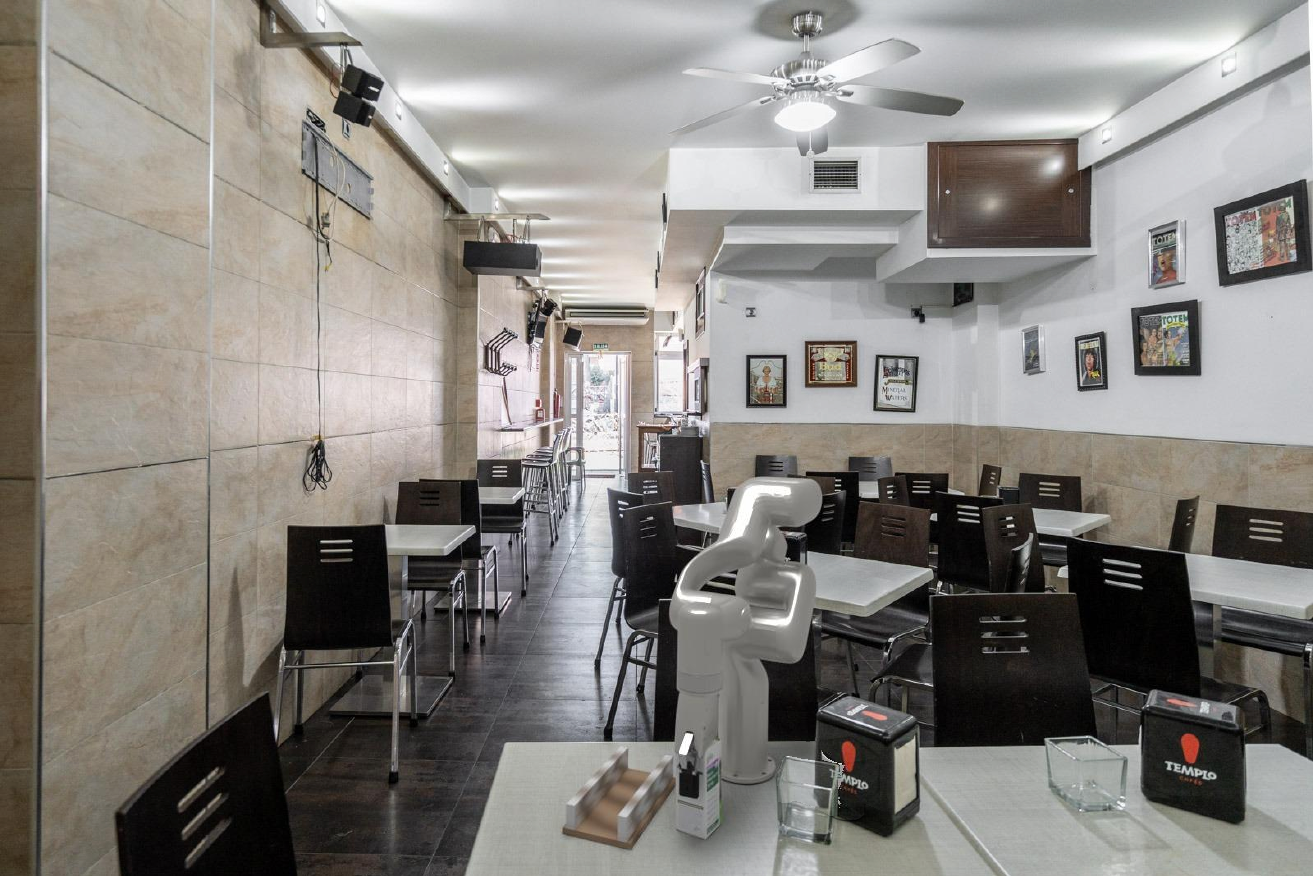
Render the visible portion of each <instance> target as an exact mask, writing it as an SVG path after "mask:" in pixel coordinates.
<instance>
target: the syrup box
mask: <svg viewBox="0 0 1313 876" xmlns="http://www.w3.org/2000/svg"><path fill="white" fill-rule="evenodd" d="M690 752H694V753H697V751H696V750H690ZM678 756H679V754H676V753H675V778H676V785H675V828H676V830H677V831H680V832H682V833H685V834H687V835H690V836H693V837H696V838H698V839H701V840H707V839H708V837H709V836H710V835H711V834H713V832H714V831H716V829H717V828H718V827H720V826H721V824H722V823H723V822H722V820H723V819H722V812H723V811H722V810H723V809H722V808H723V807H722V778H721V739H719V738H718V737H717V738H716V737H715V738H714V740H713V742H712V743H711V745H710V746H709V748H708V749H707V751H706V753H705V755H704V756H703V757H702V758H700V761H699V766H698V771H697V773H699V797H698V799H693V798H688V797H684V796H680V795H679V765H678V764H679V757H678ZM694 759H695V758H690V757H689V761H691V763H692V765H693V764H694Z"/></svg>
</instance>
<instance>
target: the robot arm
mask: <svg viewBox="0 0 1313 876" xmlns="http://www.w3.org/2000/svg"><path fill="white" fill-rule="evenodd" d="M822 504H823V494H822V489H821V486H820V485H819V483H818V482H817V481H816V480H814V479H812V478H804V477H803V478H801V477H800V478H797V477H784V476H783V477H782V476H781V477H780V476H779V477H778V476H756V477H750V478H747V479H746V480H745V481H744V482H743V483H740V484H739V485H737V487H736V488H735V490H734V492H733V494H732V497H731V500H730V503H729V505H728V509H727V512H726V514H725V517H724V520H723V523H722V526H721V528H720V532H719V535H718V538H717V540H716V541H715V542H714V543H712V544H710V545H708V546H707V547H706V548H704V549H703V550H701V551H700V552H699V553H697V554H696V555H695V556H694V557H693V558H692V559H691V560H689V562H688V563H687V564H686V565H685V566H684V568H683V569H682V570H681V573H680V575H679V578H678V579H677V582H676V586H675V588H674V591H673V594H672V596H671V599H670V605H669V610H668V611H669V613H668V615H669V616H668V617H669V622H670V624H671V625H672V627H673V628H674V629H675V630H676V631H677V644H676V645H677V646H676V647H677V650H676V651H677V655H676V657H677V658H676V659H677V660H676V665H677V667H676V690H677V691H678V692H679V693H678V698H677V707H676V717H675V718H676V719H675V730H674V734H675V735H674V749H673V750H674V753H675V755H676V754H679V756H678V757H679V764H678V765H679V795H680V796H684V797H688V798H693V799H698V797H699V773H697V771H698V766H699V761H700V758H702V757H703V756H704V755H705V753H706V751H707V749H708V748H709V746H710V745H711V743H712V742H713V740H714V738H715V737H716V738H719V739H721V780H725V781H727V782H731V783H734V784H742V785H745V784H747V785H751V784H758V783H763V782H765V781H767V780H769V779H771V778H772V777H773V776H774V775H775V773H776V768H777V767H776V762H775V760H774V759H773V758H772V757H771V756H770V755H769V754H768V753H769V751H768V749H769V747H768V746H769V744H768V743H769V688H770V687H769V686H770V685H769V677H768V674H767V670H766V669H765V667H764V665H763V663H762V661H761V660H764V661H770V662H775V663H776V662H777V663H783V664H795V663H797V662H799V661H800V660H801V659H802V658H803V656H804V652H805V650H806V647H807V642H808V637H809V632H810V626H811V622H812V617H813V611H814V607H815V602H816V595H817V579H816V574H815V572H814V570H813V569H812V567H811V566H810V565H808V564H806V563H803V562H799V561H789V560H785V559H786V555H787V550H788V543H787V541H786V538H785V536H784V534H783V532H782V531H781V530H780V529H779V527H791V528H799V527H801V526H805V525H806V524H808V523H810V522H811V521H813V520H814V519H815V518H816V517H817V516H818V515H819V513H820V511H821V508H822ZM734 571H737V574H736V578H735V584H734V593H735V595H731V594H724V593H718V592H710V591H704V590H703V591H702V590H701V589H702V587H703V586H705V584H707V583H708V582H710V580H712V579H715V578H716V577H718V576H721V575H724V574H727V573H730V572H734ZM690 750H696V751H697V753H694V752H690ZM689 757H690V758H695V759H694V764H693V765H692V763H691V761H689Z"/></svg>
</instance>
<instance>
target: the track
mask: <svg viewBox="0 0 1313 876" xmlns="http://www.w3.org/2000/svg"><path fill="white" fill-rule="evenodd" d="M675 787H676V776H674V755H671V754H665V755H664V756H663V757H662V759H661V760H660V761H659V763H657V765H656V766H655V767H654V769H653V770H652V771H651V772H649V771H644V770H639V769H634V768H629V747H627V746H622V745H621V746H619V748H618V749H617V750H616V751H614V753H613V754H612V755H611V756H609V758H608V759H607V761H605V762H604V763H603V765H602V766H601V767H600V768H599V769H597V771H596V772H595V773H594V774H593V775H592V776H591V777H590V778H589V779H588V781H587V782H586V783H584V785H583V786H582V787H581V788H580V789H579V790H578V791H577V792H576V793H575V794H574V795H573V796H572V798H570V800H568V802H566V806H565V807H566V808H565V809H566V813H565V816H566V817H565V818H566V819H565V824H564V825H563V826H562V834H563V835H567V836H571V837H576V838H581V839H584V840H589V841H593V842H596V843H600V844H601V843H602V844H604V845H609V846H612V847H616V848H621V849H625V850H632V848H633V847H634V845H635V844H636V842H637V841H638V839H639V838H640V837H641V835H642V834H643V832H645V829H646V828H647V826H649V823H650V822H651V821H652V819H653V818H654V816H655V815H656V814H657V812H659V809H660V808H661V807H662V805H663V804H664V802H665V801H666V799H667V798H668V796H669V795H670V793H671V792H672V790H673V789H674V788H675Z"/></svg>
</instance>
